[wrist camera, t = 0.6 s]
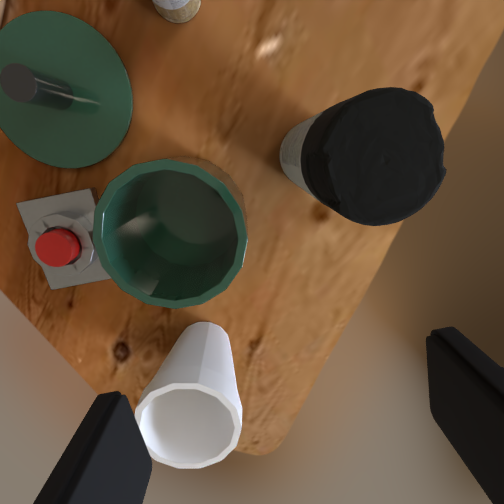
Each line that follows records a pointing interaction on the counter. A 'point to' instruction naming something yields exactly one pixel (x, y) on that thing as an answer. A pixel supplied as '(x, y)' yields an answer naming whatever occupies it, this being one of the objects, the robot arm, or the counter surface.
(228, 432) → the foam cup
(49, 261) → the button
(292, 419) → the counter surface
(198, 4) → the sprinkles bottle
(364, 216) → the spray can
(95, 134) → the pot lid
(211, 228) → the green pot
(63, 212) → the grey mounting plate
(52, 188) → the counter surface
